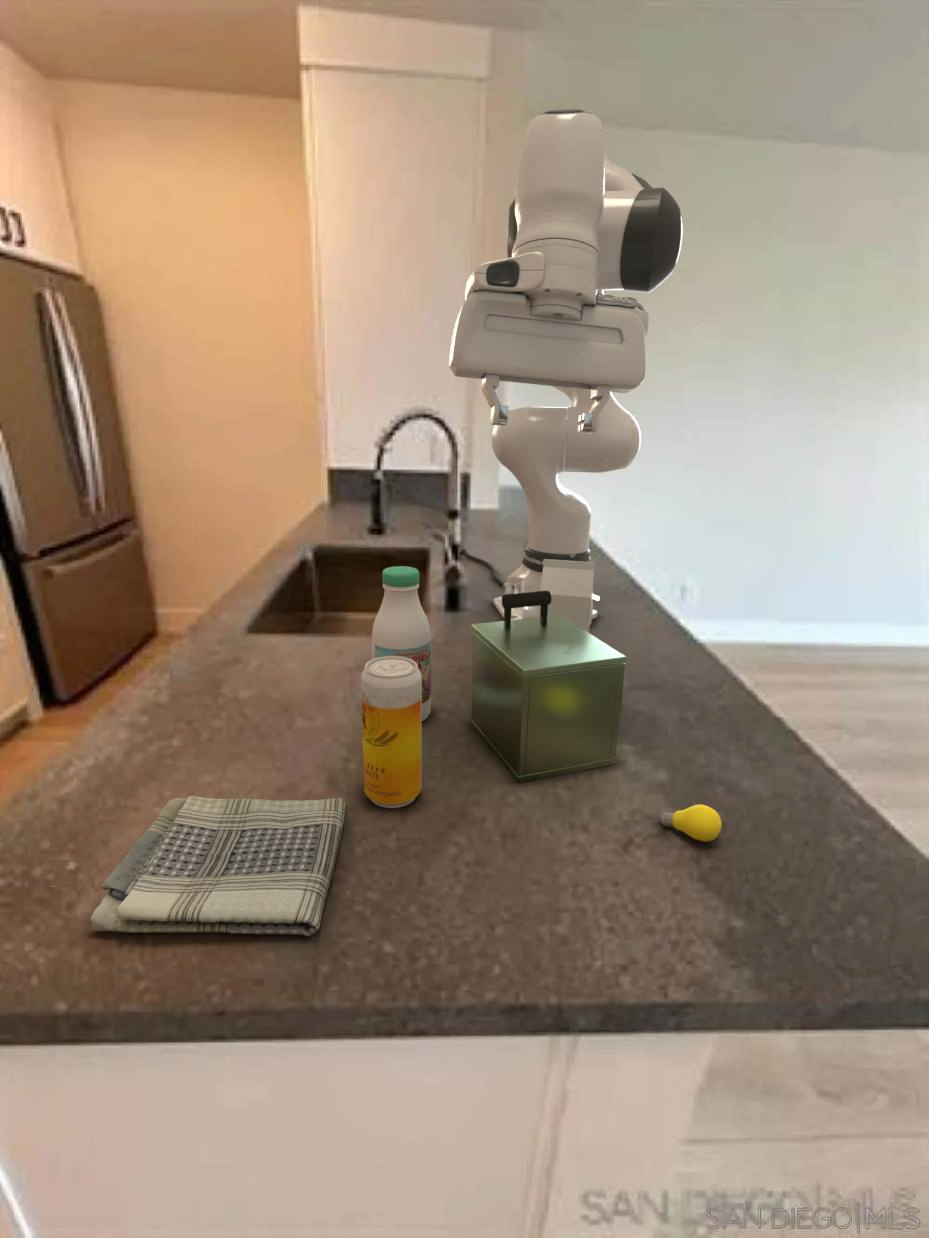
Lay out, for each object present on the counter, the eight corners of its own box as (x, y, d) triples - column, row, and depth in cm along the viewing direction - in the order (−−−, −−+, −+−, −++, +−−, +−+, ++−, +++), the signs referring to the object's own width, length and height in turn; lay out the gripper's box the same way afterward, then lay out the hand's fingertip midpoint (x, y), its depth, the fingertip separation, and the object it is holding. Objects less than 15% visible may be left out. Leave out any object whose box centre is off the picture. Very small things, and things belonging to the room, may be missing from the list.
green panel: (471, 630, 84) (471, 591, 83) (560, 620, 89) (562, 583, 87) (523, 677, 71) (526, 631, 69) (625, 663, 75) (630, 620, 73)
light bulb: (721, 851, 64) (712, 824, 63) (660, 843, 68) (651, 818, 66) (728, 824, 67) (720, 798, 65) (669, 818, 70) (660, 793, 69)
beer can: (358, 785, 74) (353, 658, 69) (410, 774, 76) (410, 651, 71) (373, 816, 69) (370, 681, 64) (429, 803, 71) (430, 672, 66)
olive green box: (470, 724, 88) (473, 632, 84) (556, 711, 92) (562, 622, 88) (517, 783, 75) (523, 677, 71) (615, 764, 79) (625, 663, 75)
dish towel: (350, 809, 70) (349, 782, 69) (319, 943, 53) (317, 910, 52) (169, 808, 69) (165, 781, 68) (78, 943, 52) (71, 910, 51)
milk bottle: (361, 714, 90) (356, 569, 84) (403, 696, 95) (402, 559, 89) (399, 733, 85) (398, 581, 79) (442, 714, 91) (444, 570, 84)
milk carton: (583, 697, 97) (594, 568, 91) (534, 692, 98) (541, 565, 92) (585, 677, 103) (595, 556, 97) (538, 673, 104) (545, 553, 98)
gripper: (637, 310, 73) (626, 440, 74) (450, 287, 70) (443, 425, 71) (663, 289, 67) (650, 432, 68) (459, 264, 63) (451, 414, 65)
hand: (543, 428), depth 70 cm, fingers open, 8 cm apart
